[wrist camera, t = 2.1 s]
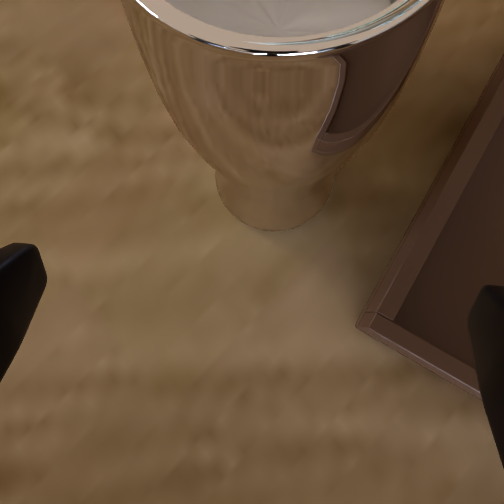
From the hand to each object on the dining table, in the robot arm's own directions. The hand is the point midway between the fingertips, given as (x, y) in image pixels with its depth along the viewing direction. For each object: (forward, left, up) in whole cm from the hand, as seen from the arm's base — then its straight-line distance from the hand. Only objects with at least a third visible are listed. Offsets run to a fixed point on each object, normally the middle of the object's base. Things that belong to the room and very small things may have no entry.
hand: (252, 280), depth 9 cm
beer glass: (+6, -3, -12) cm, 14 cm away
